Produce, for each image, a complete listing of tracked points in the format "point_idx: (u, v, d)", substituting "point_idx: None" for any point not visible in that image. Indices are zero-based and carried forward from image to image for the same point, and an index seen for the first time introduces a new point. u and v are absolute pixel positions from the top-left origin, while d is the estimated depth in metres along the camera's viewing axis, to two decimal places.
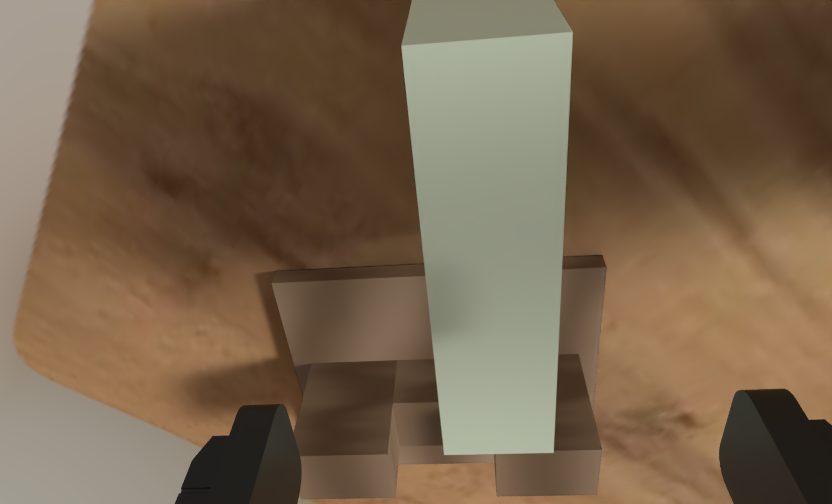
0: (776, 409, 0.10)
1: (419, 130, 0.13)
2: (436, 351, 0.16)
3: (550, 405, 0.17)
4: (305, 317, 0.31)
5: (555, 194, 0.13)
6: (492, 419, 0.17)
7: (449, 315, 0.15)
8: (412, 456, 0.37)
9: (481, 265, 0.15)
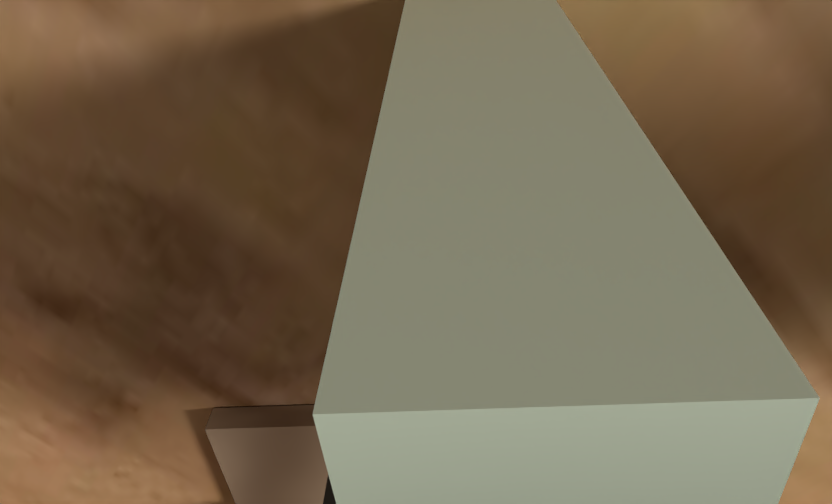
0: None
1: None
2: None
3: None
4: (253, 467, 0.24)
5: None
6: None
7: None
8: None
9: None
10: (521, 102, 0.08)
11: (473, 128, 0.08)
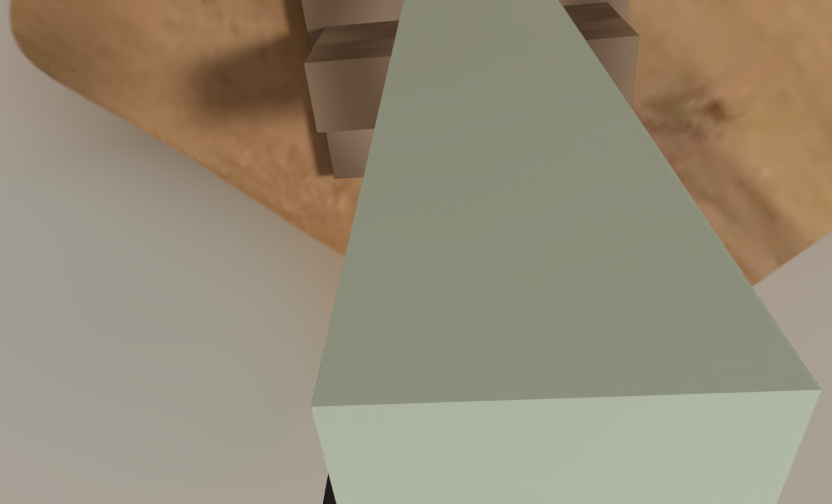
0: None
1: None
2: None
3: None
4: None
5: None
6: None
7: None
8: None
9: None
10: (520, 97, 0.08)
11: (473, 122, 0.08)
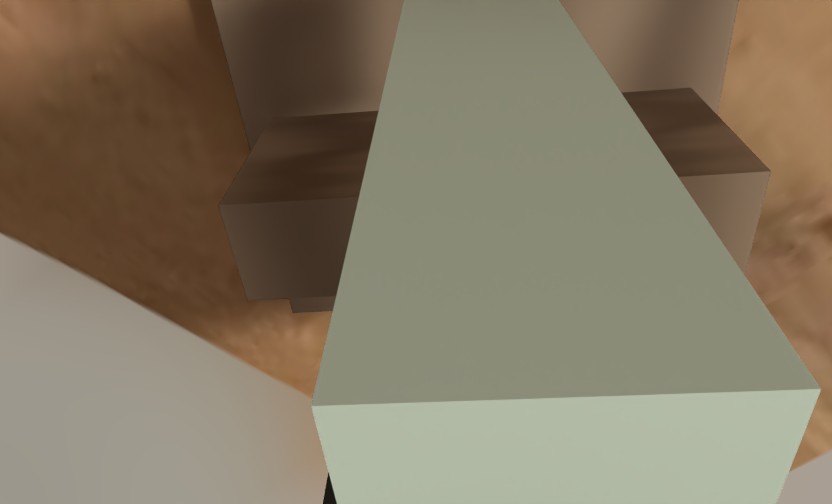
0: None
1: None
2: None
3: None
4: (256, 22, 0.20)
5: None
6: None
7: None
8: None
9: None
10: (520, 97, 0.08)
11: (473, 122, 0.08)
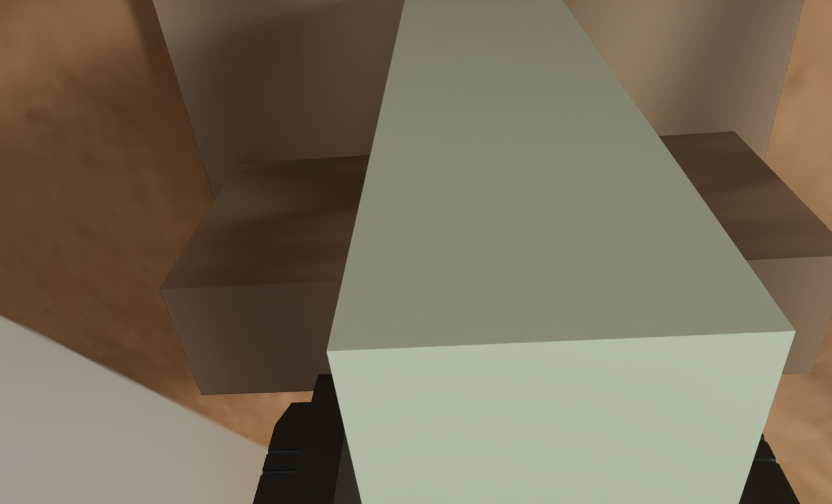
0: None
1: (382, 496, 0.05)
2: None
3: None
4: (216, 54, 0.16)
5: None
6: None
7: None
8: None
9: None
10: (520, 81, 0.09)
11: (475, 104, 0.08)
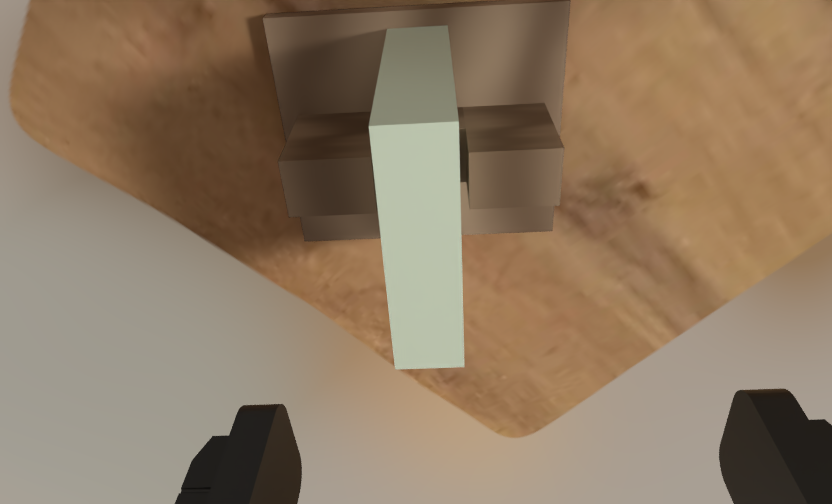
0: (776, 409, 0.10)
1: (378, 169, 0.23)
2: (389, 299, 0.26)
3: (460, 334, 0.28)
4: (293, 59, 0.34)
5: (455, 205, 0.24)
6: (424, 344, 0.28)
7: (396, 276, 0.26)
8: None
9: (414, 246, 0.25)
10: (422, 74, 0.26)
11: (406, 81, 0.26)
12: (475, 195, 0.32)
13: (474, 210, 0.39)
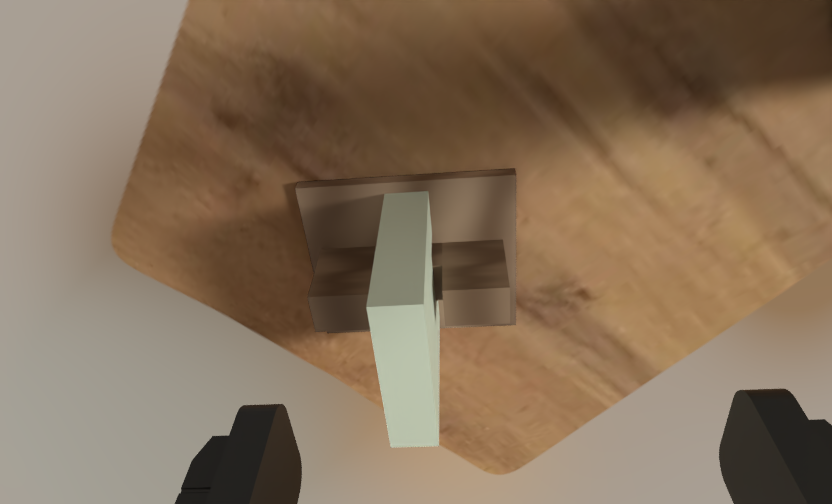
0: (776, 409, 0.10)
1: (373, 330, 0.35)
2: (384, 404, 0.39)
3: (434, 425, 0.40)
4: (317, 214, 0.46)
5: (424, 350, 0.36)
6: (410, 431, 0.40)
7: (388, 391, 0.38)
8: None
9: (399, 373, 0.37)
10: (405, 251, 0.39)
11: (393, 258, 0.38)
12: (448, 317, 0.44)
13: None
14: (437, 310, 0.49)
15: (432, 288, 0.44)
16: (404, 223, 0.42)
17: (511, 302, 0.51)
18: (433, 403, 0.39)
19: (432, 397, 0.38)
